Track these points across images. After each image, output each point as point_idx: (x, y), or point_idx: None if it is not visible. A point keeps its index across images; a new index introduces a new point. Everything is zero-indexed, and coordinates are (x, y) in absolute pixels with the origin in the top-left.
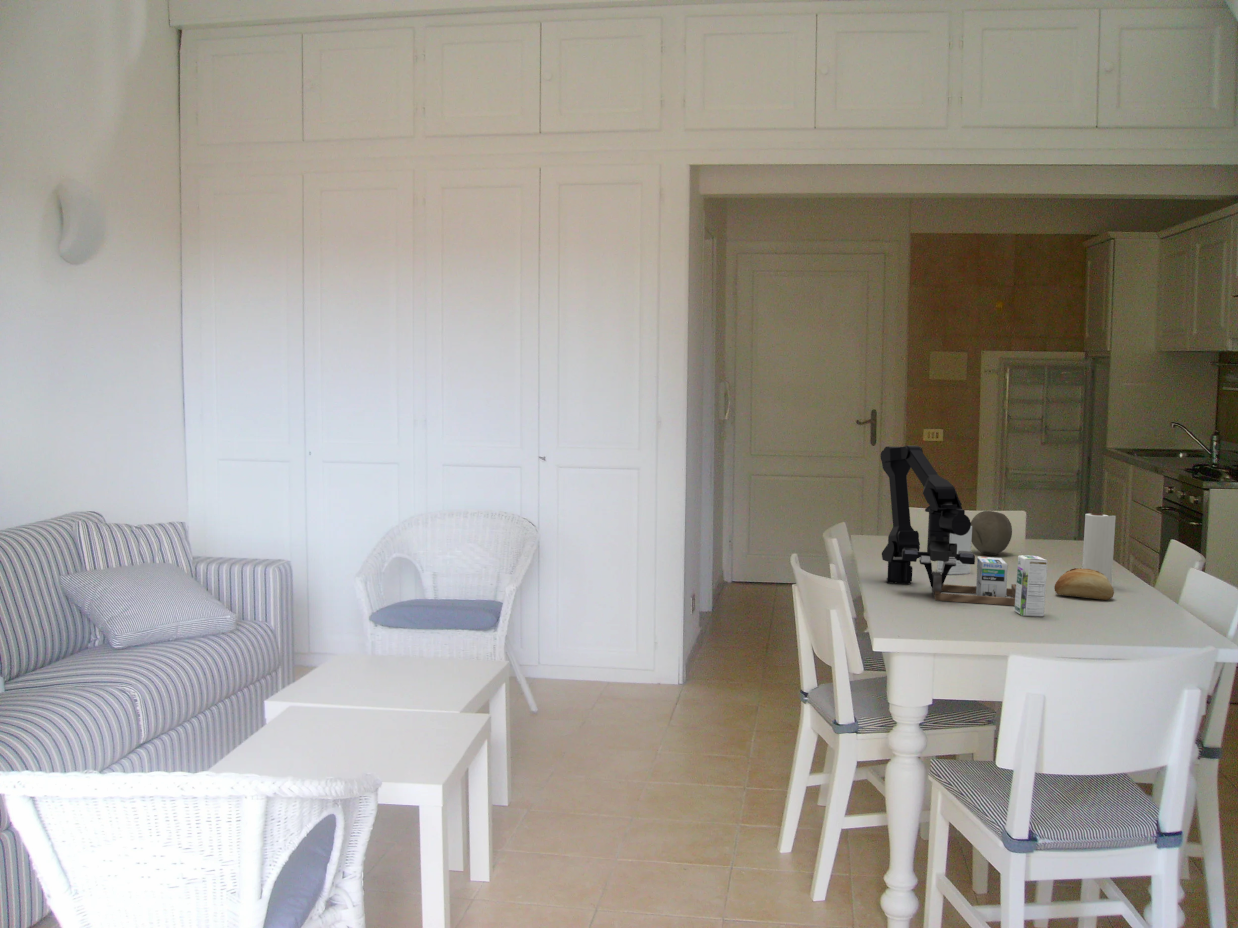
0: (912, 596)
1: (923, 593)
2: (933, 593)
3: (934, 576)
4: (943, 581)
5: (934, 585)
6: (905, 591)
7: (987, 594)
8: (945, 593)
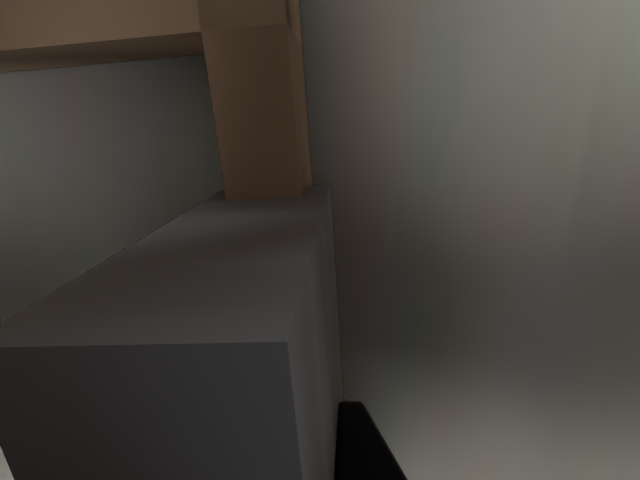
0: (610, 179)
1: (436, 411)
2: (327, 186)
3: (274, 339)
4: None
5: (303, 220)
6: (635, 452)
7: None
8: (109, 32)
